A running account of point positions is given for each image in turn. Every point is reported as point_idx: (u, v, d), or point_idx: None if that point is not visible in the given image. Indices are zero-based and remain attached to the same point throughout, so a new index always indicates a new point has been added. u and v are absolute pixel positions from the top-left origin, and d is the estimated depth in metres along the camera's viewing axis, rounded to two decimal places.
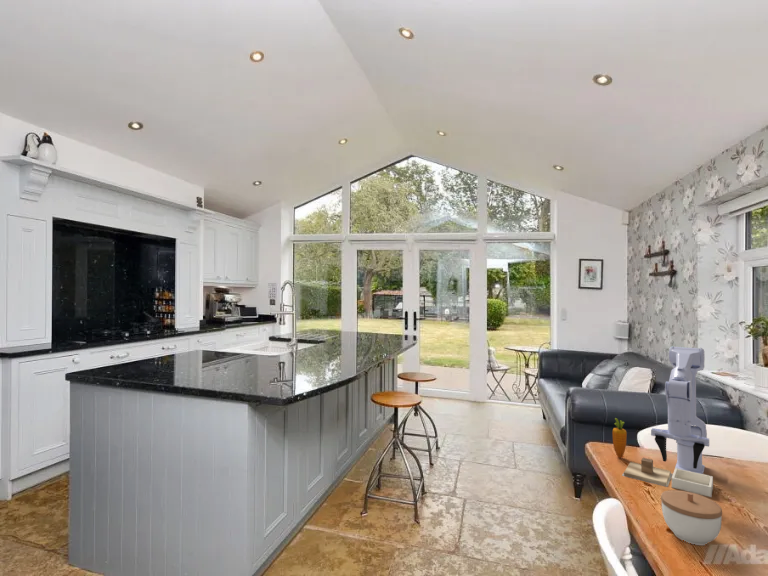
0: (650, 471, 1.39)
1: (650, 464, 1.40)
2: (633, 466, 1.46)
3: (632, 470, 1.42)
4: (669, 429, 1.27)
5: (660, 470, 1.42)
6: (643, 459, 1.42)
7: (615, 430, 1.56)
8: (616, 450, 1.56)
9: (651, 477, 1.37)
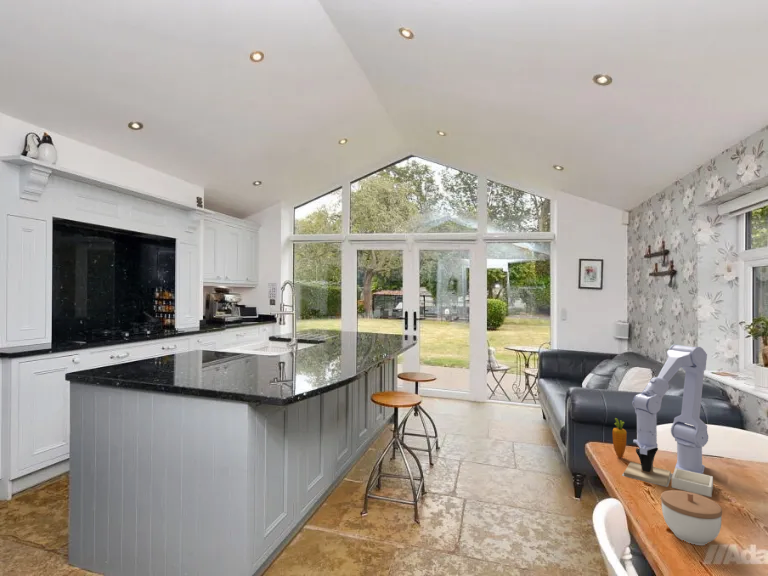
0: (650, 471, 1.39)
1: None
2: (633, 466, 1.46)
3: (632, 470, 1.42)
4: None
5: (660, 470, 1.42)
6: None
7: (615, 430, 1.56)
8: (616, 450, 1.56)
9: (651, 477, 1.37)
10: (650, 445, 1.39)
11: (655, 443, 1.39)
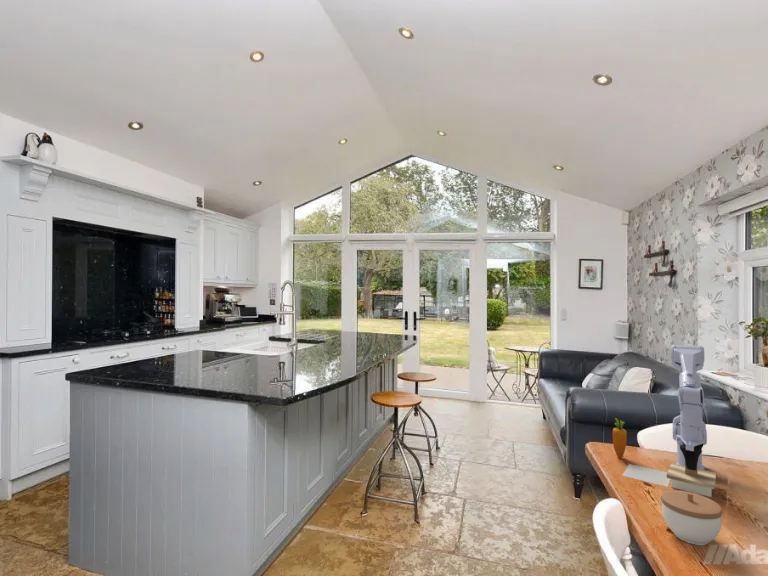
0: (695, 473, 1.31)
1: None
2: (675, 468, 1.37)
3: (675, 472, 1.34)
4: None
5: (705, 472, 1.34)
6: None
7: (615, 430, 1.56)
8: (616, 450, 1.56)
9: (697, 480, 1.28)
10: (696, 441, 1.30)
11: (701, 439, 1.30)
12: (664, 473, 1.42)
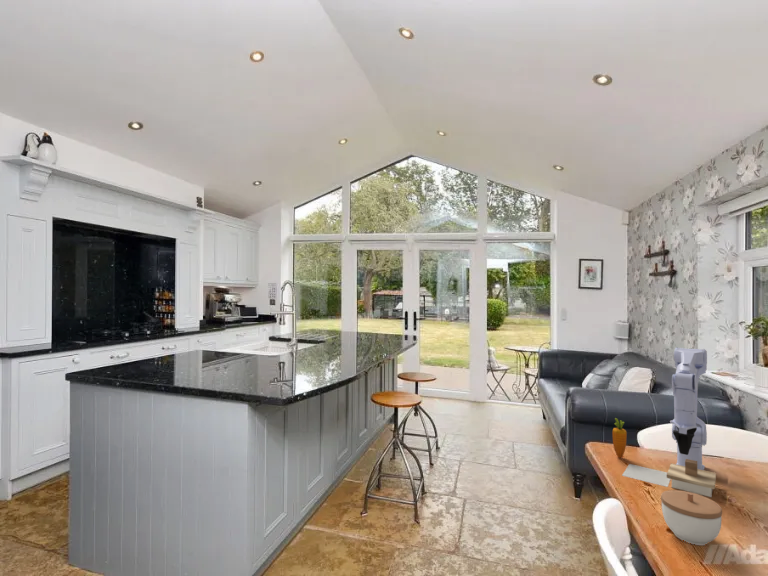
0: (695, 473, 1.31)
1: (695, 466, 1.31)
2: (675, 468, 1.37)
3: (675, 472, 1.34)
4: None
5: (705, 472, 1.34)
6: (687, 460, 1.33)
7: (615, 430, 1.56)
8: (616, 450, 1.56)
9: (697, 480, 1.28)
10: (689, 425, 1.34)
11: (694, 423, 1.34)
12: (664, 473, 1.42)
